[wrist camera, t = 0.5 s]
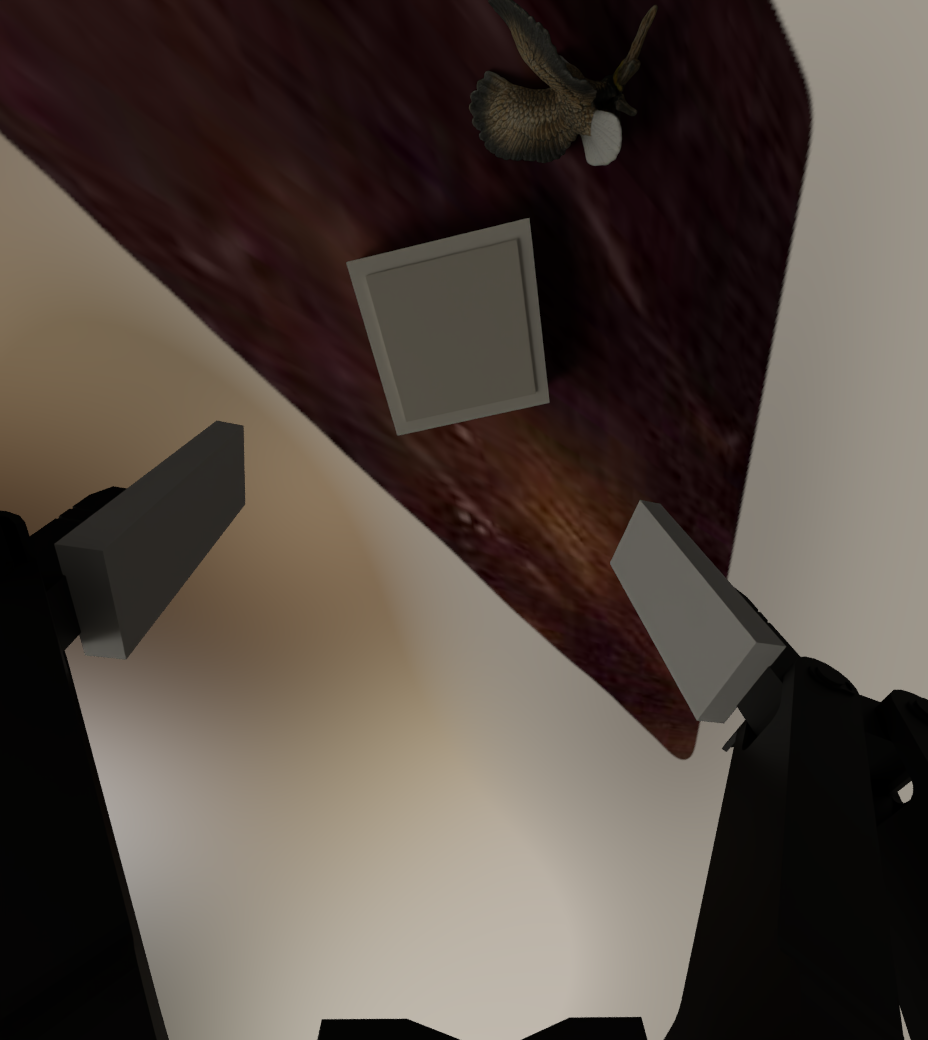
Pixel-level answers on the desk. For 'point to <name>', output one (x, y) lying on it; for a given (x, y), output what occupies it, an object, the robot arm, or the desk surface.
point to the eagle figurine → (552, 99)
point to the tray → (455, 326)
